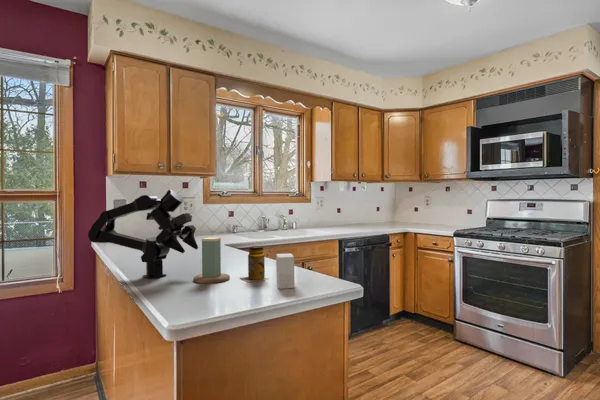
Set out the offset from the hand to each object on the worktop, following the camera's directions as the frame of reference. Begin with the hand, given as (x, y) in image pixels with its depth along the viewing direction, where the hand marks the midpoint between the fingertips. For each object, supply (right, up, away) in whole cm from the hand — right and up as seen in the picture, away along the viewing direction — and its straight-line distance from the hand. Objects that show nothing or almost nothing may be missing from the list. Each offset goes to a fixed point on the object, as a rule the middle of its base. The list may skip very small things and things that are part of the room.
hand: (190, 250), depth 135 cm
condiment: (+24, -11, -1) cm, 26 cm away
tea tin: (+8, -9, -2) cm, 13 cm away
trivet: (+8, -10, -2) cm, 13 cm away
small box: (+36, -11, -12) cm, 39 cm away
